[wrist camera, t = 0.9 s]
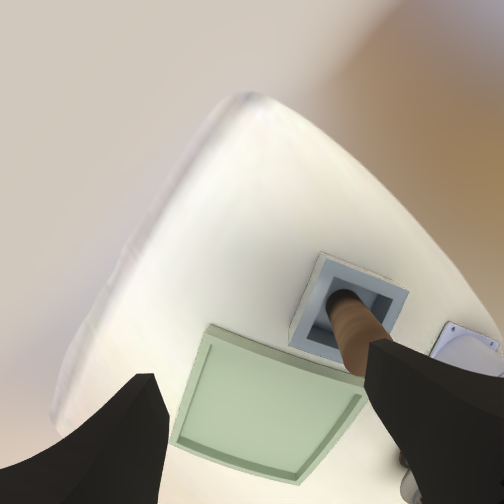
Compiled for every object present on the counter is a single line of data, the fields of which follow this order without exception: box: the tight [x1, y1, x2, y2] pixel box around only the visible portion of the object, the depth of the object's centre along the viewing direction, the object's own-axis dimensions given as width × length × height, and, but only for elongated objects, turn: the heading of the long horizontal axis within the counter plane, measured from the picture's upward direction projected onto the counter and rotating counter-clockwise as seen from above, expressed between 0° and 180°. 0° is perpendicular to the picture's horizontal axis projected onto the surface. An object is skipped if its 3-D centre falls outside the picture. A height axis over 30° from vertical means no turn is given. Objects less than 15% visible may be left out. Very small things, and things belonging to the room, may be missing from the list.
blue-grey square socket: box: [288, 252, 409, 364], centre depth 21 cm, size 7×7×4 cm
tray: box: [169, 325, 369, 486], centre depth 24 cm, size 16×16×2 cm
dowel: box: [326, 289, 393, 377], centre depth 18 cm, size 3×3×9 cm
